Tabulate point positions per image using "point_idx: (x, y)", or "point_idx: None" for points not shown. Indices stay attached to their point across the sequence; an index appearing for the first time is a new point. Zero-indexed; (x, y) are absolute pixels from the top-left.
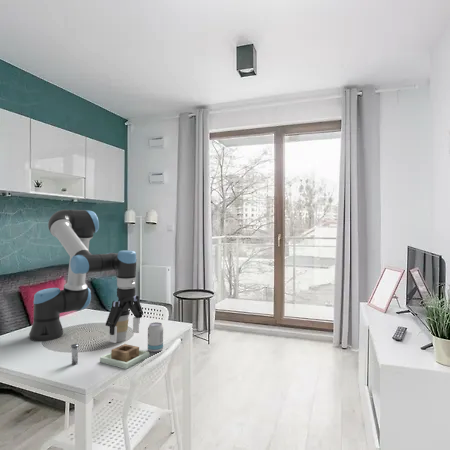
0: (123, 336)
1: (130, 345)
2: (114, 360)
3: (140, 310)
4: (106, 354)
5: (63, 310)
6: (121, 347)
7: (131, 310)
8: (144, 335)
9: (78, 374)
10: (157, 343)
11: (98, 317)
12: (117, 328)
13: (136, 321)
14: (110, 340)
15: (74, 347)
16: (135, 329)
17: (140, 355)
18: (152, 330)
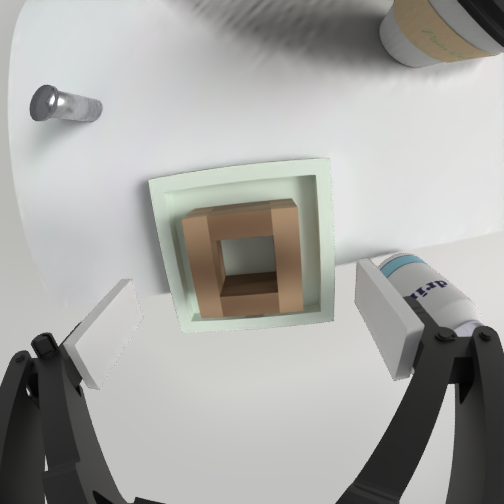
0: (418, 61)
1: (296, 255)
2: (168, 267)
3: (458, 422)
4: (188, 173)
5: None
6: (242, 237)
7: (380, 441)
8: (492, 115)
9: (60, 215)
10: None
11: None
12: (412, 24)
13: (385, 346)
14: (118, 285)
15: (37, 119)
16: (363, 296)
17: (280, 319)
18: None
